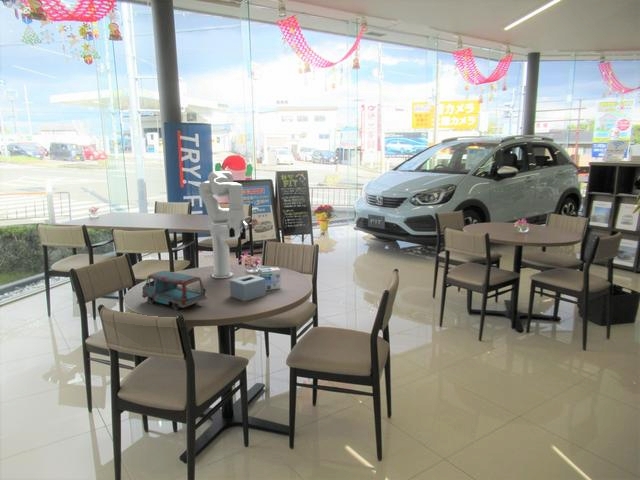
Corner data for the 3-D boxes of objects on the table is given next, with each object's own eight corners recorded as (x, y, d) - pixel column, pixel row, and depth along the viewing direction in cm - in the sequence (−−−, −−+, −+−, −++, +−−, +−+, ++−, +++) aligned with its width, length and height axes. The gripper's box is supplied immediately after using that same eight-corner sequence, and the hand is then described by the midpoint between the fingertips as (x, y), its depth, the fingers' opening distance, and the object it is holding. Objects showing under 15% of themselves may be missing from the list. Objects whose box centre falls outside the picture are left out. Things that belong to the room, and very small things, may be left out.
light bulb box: (262, 290, 248) (261, 271, 245) (259, 287, 254) (258, 268, 252) (281, 288, 251) (280, 269, 249) (277, 285, 258) (277, 266, 255)
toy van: (165, 294, 243) (163, 267, 240) (208, 304, 226) (206, 275, 224) (140, 302, 229) (137, 274, 226) (184, 313, 213) (182, 283, 210)
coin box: (230, 296, 238) (229, 279, 236) (251, 290, 248) (250, 274, 246) (244, 301, 230) (243, 284, 228) (265, 294, 240) (265, 278, 238)
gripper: (221, 206, 246) (222, 237, 250) (240, 208, 235) (241, 241, 238) (232, 204, 252) (233, 235, 255) (251, 207, 240) (253, 239, 243)
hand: (237, 238), depth 247 cm, fingers open, 9 cm apart
